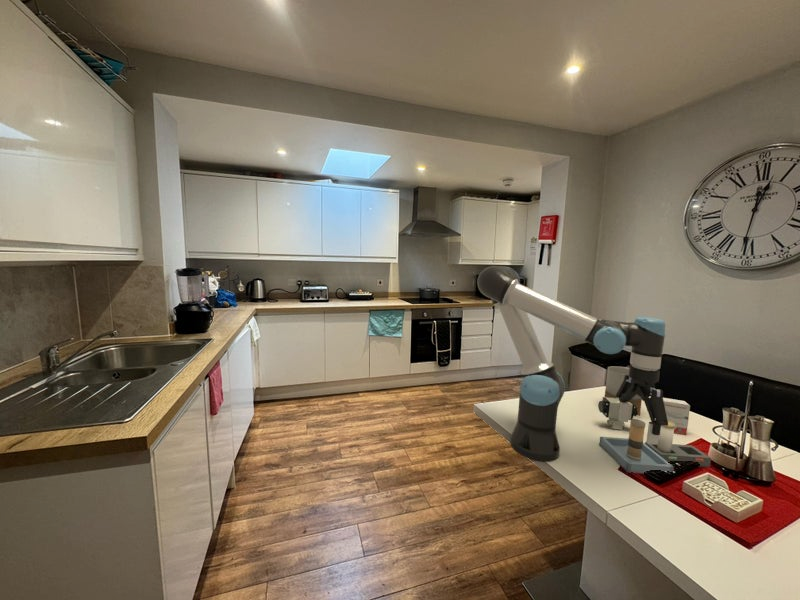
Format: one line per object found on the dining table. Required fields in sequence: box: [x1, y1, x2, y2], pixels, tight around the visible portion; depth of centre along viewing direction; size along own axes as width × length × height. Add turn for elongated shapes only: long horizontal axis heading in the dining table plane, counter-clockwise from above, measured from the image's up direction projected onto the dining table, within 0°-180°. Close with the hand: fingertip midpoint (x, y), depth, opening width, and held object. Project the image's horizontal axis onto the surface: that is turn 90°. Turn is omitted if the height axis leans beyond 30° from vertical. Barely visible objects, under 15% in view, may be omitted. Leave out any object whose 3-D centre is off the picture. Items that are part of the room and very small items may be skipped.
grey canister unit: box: [604, 365, 643, 416], centre depth 136 cm, size 13×13×18 cm
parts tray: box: [598, 436, 675, 474], centre depth 101 cm, size 13×15×3 cm
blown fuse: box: [626, 418, 646, 461], centre depth 101 cm, size 4×4×12 cm
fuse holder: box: [644, 441, 712, 468], centre depth 102 cm, size 15×7×3 cm, turn 86°
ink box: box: [655, 397, 691, 436], centre depth 121 cm, size 9×5×12 cm, turn 65°
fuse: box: [657, 420, 675, 453], centre depth 102 cm, size 4×4×12 cm
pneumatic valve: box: [597, 396, 638, 431], centre depth 121 cm, size 6×12×12 cm, turn 78°
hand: (636, 431), depth 100 cm, fingers open, 13 cm apart
